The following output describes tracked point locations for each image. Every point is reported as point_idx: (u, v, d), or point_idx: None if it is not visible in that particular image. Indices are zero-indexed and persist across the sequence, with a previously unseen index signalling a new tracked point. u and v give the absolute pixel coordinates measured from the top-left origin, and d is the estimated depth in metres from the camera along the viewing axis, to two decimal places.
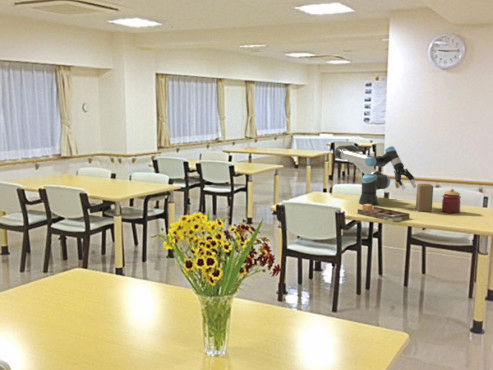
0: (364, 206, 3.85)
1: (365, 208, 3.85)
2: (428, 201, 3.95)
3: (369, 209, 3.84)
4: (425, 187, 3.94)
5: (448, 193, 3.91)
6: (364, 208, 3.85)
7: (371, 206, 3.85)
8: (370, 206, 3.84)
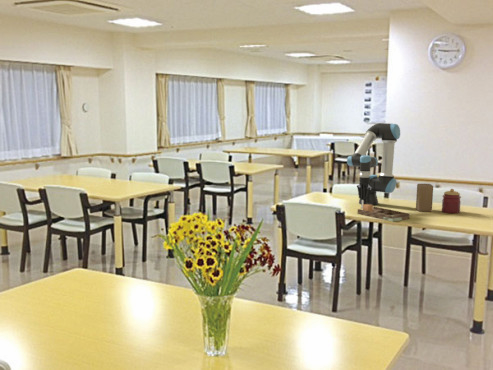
0: (364, 206, 3.85)
1: (365, 208, 3.84)
2: (428, 201, 3.95)
3: (369, 209, 3.84)
4: (425, 187, 3.94)
5: (448, 193, 3.91)
6: (364, 208, 3.85)
7: (371, 206, 3.84)
8: (371, 206, 3.84)
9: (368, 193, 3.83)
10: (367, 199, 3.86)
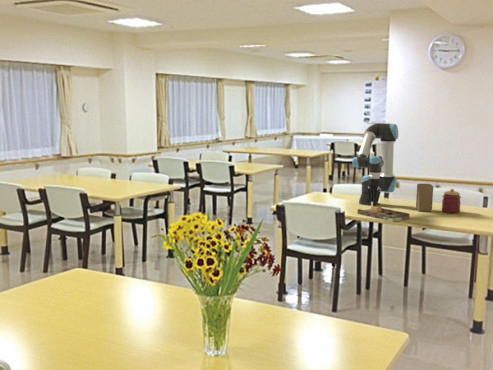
0: (373, 208, 3.78)
1: (374, 210, 3.78)
2: (428, 201, 3.95)
3: (378, 211, 3.77)
4: (425, 187, 3.94)
5: (448, 193, 3.91)
6: (373, 210, 3.78)
7: (379, 208, 3.77)
8: (379, 208, 3.77)
9: (378, 195, 3.76)
10: (377, 201, 3.79)
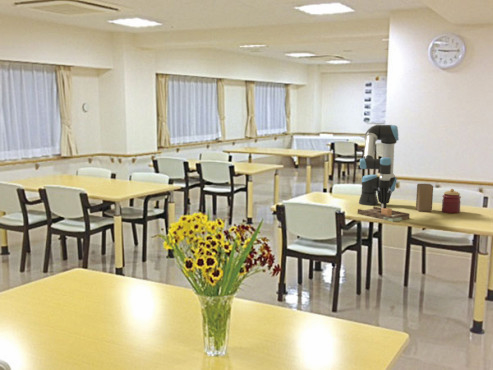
0: (383, 210, 3.71)
1: (384, 212, 3.70)
2: (428, 201, 3.95)
3: (388, 213, 3.69)
4: (425, 187, 3.94)
5: (448, 193, 3.91)
6: (383, 212, 3.71)
7: (390, 210, 3.70)
8: (389, 210, 3.70)
9: (388, 197, 3.69)
10: None
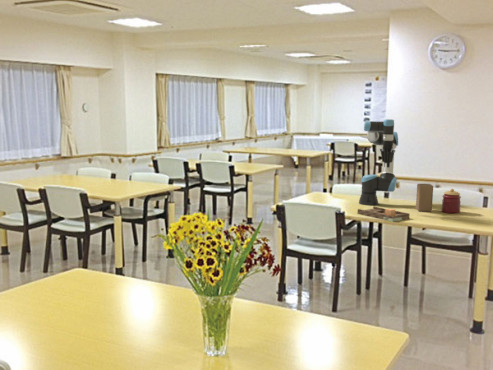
0: (386, 211, 3.68)
1: (387, 213, 3.68)
2: (428, 201, 3.95)
3: (392, 214, 3.67)
4: (425, 187, 3.94)
5: (448, 193, 3.91)
6: (386, 213, 3.68)
7: (393, 211, 3.67)
8: (393, 210, 3.67)
9: (391, 156, 3.92)
10: (390, 162, 3.95)
